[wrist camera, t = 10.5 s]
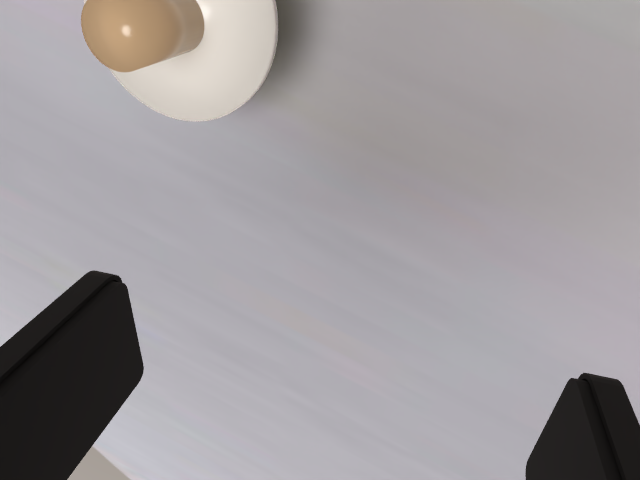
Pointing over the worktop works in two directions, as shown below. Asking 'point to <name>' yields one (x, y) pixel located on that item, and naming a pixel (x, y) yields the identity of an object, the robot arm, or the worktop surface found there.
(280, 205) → the worktop surface
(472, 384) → the worktop surface
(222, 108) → the lid
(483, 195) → the worktop surface
